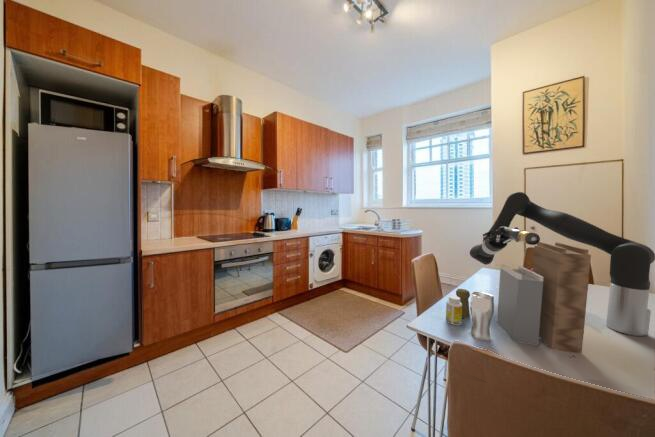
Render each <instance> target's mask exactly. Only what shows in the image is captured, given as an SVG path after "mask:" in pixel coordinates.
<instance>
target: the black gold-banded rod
mask: <svg viewBox="0 0 655 437" xmlns="http://www.w3.org/2000/svg"><path fill="white" fill-rule="evenodd" d="M502 227H504V228H505V232H504V233H503V234H502V236H505V237H508V238H511V239H514V240H513V241H515V240H517V241H519V242H521V243H524V244H527V245H530V246H535V245H537V243H539V242H541V237H540V235H539V234H537V233H535V232H531V231H527V230H522V229H519V228H518V229H519V230H518V229H514V228H515V227H514V228H513V227H510V226H509V227H505V226H502ZM500 228H501V227H500Z"/></svg>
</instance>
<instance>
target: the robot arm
mask: <svg viewBox="0 0 655 437" xmlns="http://www.w3.org/2000/svg"><path fill="white" fill-rule="evenodd" d="M516 215H518V216H521V217H524V218H526V219H529V220H531V221H533V222H535V223H538V224H539V225H541V226H543V228H547V229H548V230H550V231H552V232H554V233H556V234H558V235H560V236H562V237H563V238H566V239H568V240H572V241H575V242H578V243H581V244H584V245H588V246H591V247H594V248H597V249H598V250H600V251H603V252H605V253H606V254H609V255H610V258H609V259H610V260H609V261H610V262H609V277H610V284H609V295H608V303H607V313H606V324H605V326H606V327H608V328H609V329H611V330H613V331H616V332H619V333H623V334H626V335H629V336H634V337H644V336H649V330H650V321H651V313H652V311H651V310H650V309H648V308H649V300H650V298H649V296H650V287H651V282H650V270H651V264H653V263H654V261H655V252H654V251H653V250H652V248H651V247H649V246H647V245H645V244H642V243H640V242H637V241H634V240H630V239H627V238H625V237H622V236H619V235H616V234H613V233H611V232H609V231H606V230H605V229H602V228H600V227H599V226H596V225H594V224H592V223H590V222H588V221H585V220H584V219H581V218H579V217H577V216H575V215H572V214H569V213H566V212H562V211H559V210H558V211H557V210H552V209H548V208H544V207H543V206H540V205H538V204H537V203H534V202H533V201H531V199H530V197H529V196H528V195H527V194H526V193H525V192H522V191H516V192H513V193H510V195H509V196H507V198H506V200H505V202H504V204H503V206H502V209H501V210H500V212H499V214H498V216H497V218H496V219H495V221H494V223H493V224H492V226H491V227H490V229H489V230H488V232H485V233H483V234H482V243H480V244H476V245H474V246H472V248H471V249H470V250H469V256H470V257H471V258H473V259H474V260H476V261H477V262H479V263H480V264H483V265H490V264H491V263H492V262H493V260H494V257H495V255H496V254H498V253H499V252H501V251H502V250H503V249H504V248H506V247H507V245H508V244H509V243H510V242H512V241H515V242H517V243H519V242H520V241H517V240H514V239H511V238H508V237H505V236H502V234H503V233H504V232H505V228H504V227H502V226H505V227H509V228H510V225H511V223H512V221H513V220H514V218H515V216H516ZM500 227H501V228H500ZM514 229H518V230H520V229H519V227H518V226H516V227H514Z"/></svg>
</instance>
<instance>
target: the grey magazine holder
mask: <svg viewBox="0 0 655 437" xmlns="http://www.w3.org/2000/svg"><path fill="white" fill-rule="evenodd" d="M542 290H543V276H541V275H539V274H537V273H535V272H533V270H531V269H529V268H526V267H525V266H523V265H518V269H515V268H510V267H508V266H506V265H505V264H500V271H499V288H498V298H497V299H498V302H497V313H496V314H497V317H496V323H497V324H498V325H499V326H500V328H501V329H502V330H503V331H504V332H505V333H506V334H507V335H508V337H509V338H510V339H511V341H513V342H514V343H521V344H529V345H536V346H539V340H540V338H539V328H540V315H541V302H542Z"/></svg>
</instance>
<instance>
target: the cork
mask: <svg viewBox="0 0 655 437" xmlns="http://www.w3.org/2000/svg"><path fill="white" fill-rule="evenodd" d="M455 294H456V295H455V296H457V297H459V298H460V302H461V303H462V319H470V318H471V311H470V304H469V303H470V302H469V298H470V296H471V292H470V291H469V290H467V289H465V288H457V289H456V290H455Z"/></svg>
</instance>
